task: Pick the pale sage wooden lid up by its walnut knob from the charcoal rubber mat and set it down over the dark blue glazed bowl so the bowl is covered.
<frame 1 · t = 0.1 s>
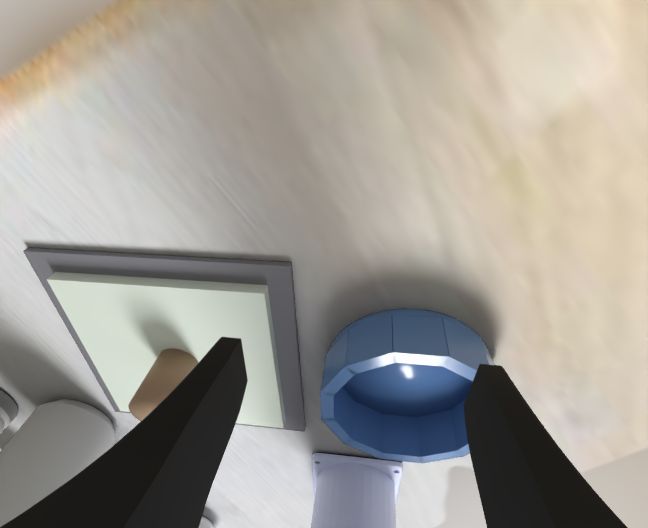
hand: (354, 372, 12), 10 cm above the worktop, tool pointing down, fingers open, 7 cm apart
can: (83, 416, 36), on the worktop
lid: (184, 354, 28), resting on mat
flower vase: (184, 517, 47), on the worktop
bowl: (406, 366, 26), on the worktop
mat: (186, 350, 28), on the worktop
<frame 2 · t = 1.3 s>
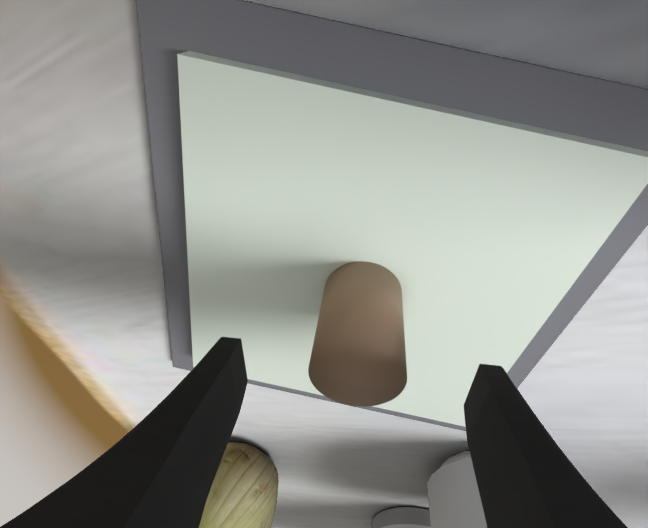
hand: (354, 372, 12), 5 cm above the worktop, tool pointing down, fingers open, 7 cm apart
can: (487, 470, 24), on the worktop
lid: (363, 280, 15), resting on mat
fennel bulb: (249, 450, 26), on the worktop
travel mug: (411, 520, 29), on the worktop
mat: (363, 274, 16), on the worktop
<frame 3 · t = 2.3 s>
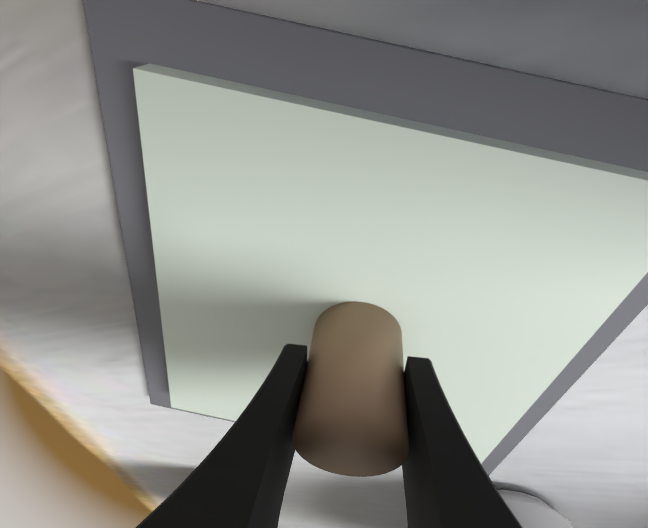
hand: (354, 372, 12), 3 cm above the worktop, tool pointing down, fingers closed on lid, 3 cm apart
can: (494, 510, 22), on the worktop
lid: (358, 318, 14), resting on mat, touching gripper
mat: (359, 311, 14), on the worktop
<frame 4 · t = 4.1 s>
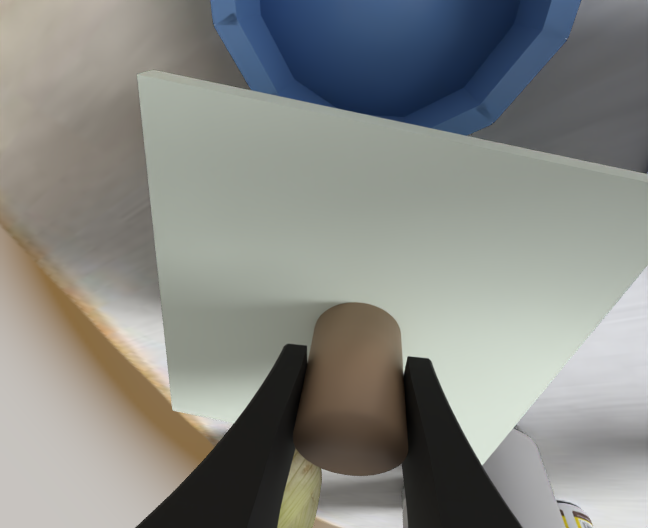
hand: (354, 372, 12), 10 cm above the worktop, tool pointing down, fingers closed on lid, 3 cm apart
can: (481, 440, 30), on the worktop
lid: (358, 319, 14), point 7 cm above the worktop, touching gripper
fennel bulb: (296, 442, 34), on the worktop
supplement bottle: (552, 511, 35), on the worktop
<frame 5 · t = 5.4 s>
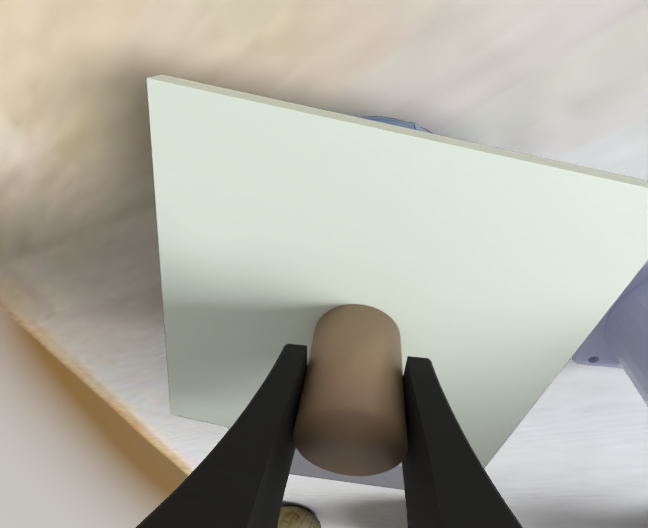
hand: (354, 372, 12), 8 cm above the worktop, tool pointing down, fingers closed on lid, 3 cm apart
lid: (357, 322, 14), point 6 cm above the worktop, touching gripper
fennel bulb: (299, 509, 38), on the worktop
bowl: (365, 230, 19), on the worktop
mat: (347, 420, 28), on the worktop
when the fingers open (7 cm above the worktop, at t = 6.0 s): lid stays where it is, point 4 cm above the worktop.
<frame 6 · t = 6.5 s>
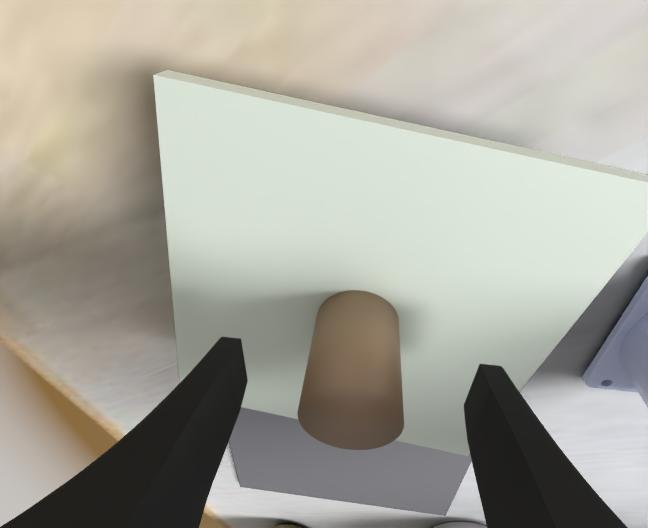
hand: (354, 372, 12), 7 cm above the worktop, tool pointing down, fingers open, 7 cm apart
lid: (358, 307, 15), point 4 cm above the worktop
fennel bulb: (296, 526, 37), on the worktop
mat: (345, 440, 27), on the worktop
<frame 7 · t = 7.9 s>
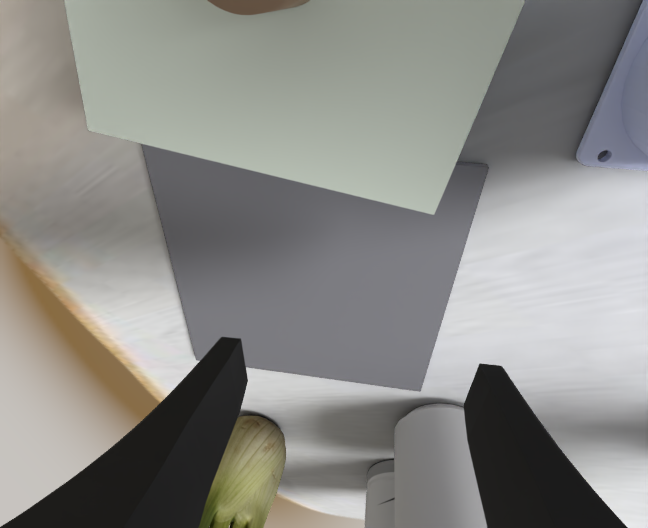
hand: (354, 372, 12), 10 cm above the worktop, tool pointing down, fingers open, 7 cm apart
can: (441, 423, 30), on the worktop
fennel bulb: (262, 422, 34), on the worktop
travel mug: (399, 472, 36), on the worktop
mat: (306, 284, 24), on the worktop
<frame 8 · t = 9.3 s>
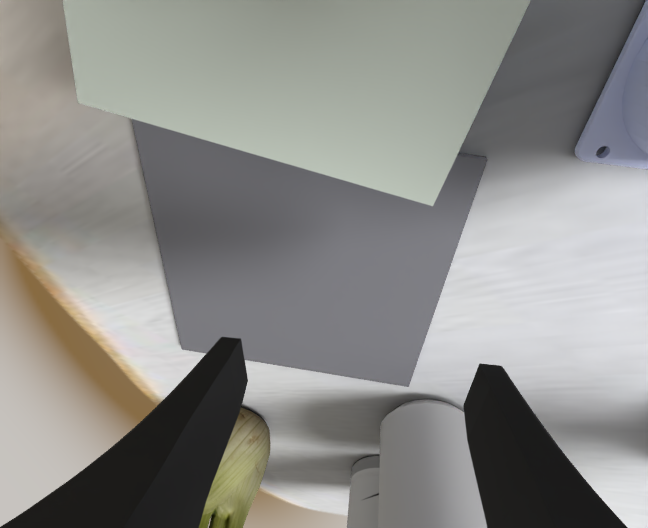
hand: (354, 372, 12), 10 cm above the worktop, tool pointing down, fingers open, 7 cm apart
can: (427, 419, 30), on the worktop
fennel bulb: (247, 415, 34), on the worktop
travel mug: (383, 469, 36), on the worktop
mat: (298, 273, 23), on the worktop
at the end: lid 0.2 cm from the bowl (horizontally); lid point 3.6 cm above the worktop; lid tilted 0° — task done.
